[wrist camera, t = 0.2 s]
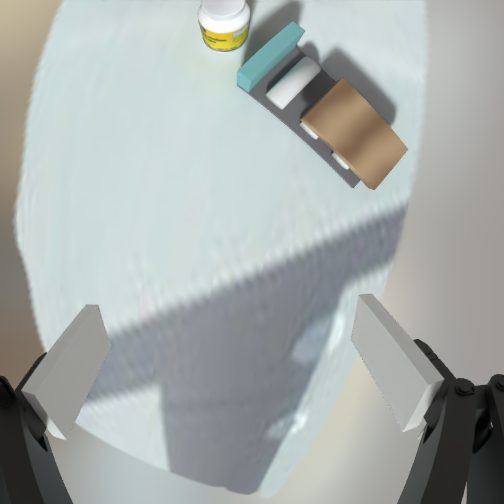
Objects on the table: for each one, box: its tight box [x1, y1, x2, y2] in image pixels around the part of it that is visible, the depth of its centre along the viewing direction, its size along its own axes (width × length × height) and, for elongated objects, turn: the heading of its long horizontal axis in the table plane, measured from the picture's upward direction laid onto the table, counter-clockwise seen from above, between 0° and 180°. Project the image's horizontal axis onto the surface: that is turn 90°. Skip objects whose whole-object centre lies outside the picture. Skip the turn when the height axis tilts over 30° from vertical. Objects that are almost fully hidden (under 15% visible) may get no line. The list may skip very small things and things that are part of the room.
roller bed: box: [237, 21, 360, 188], centre depth 32 cm, size 22×10×7 cm, turn 49°
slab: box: [301, 78, 408, 190], centre depth 32 cm, size 13×8×2 cm, turn 49°
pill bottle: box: [198, 0, 250, 53], centre depth 25 cm, size 6×6×11 cm
